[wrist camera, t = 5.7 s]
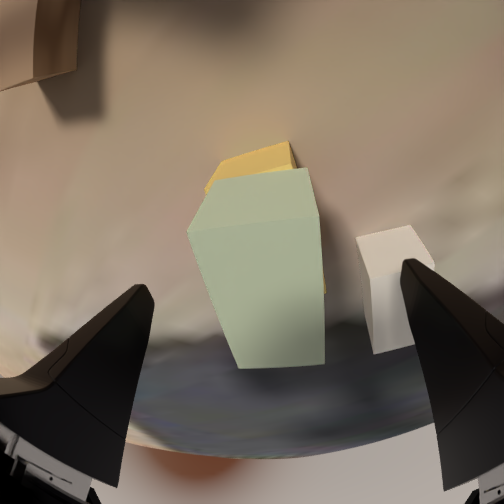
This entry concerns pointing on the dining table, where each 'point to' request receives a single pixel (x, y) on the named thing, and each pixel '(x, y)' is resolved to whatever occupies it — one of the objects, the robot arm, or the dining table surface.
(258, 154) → the mustard brick
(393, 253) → the grey brick
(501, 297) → the dining table surface
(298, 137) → the dining table surface
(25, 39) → the walnut brick
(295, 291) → the sage brick
